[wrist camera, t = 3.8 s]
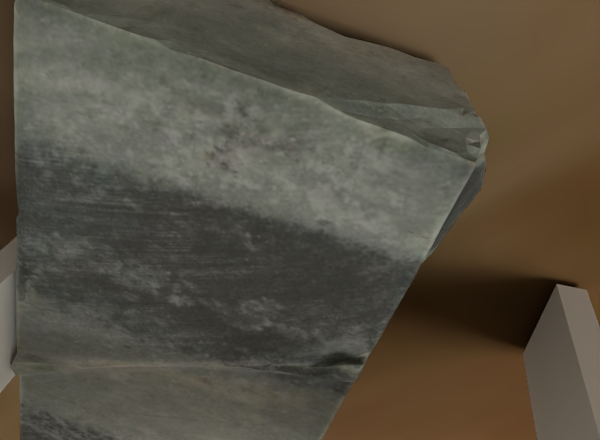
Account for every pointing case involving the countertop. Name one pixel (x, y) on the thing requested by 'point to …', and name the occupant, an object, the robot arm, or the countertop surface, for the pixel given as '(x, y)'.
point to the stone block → (217, 213)
